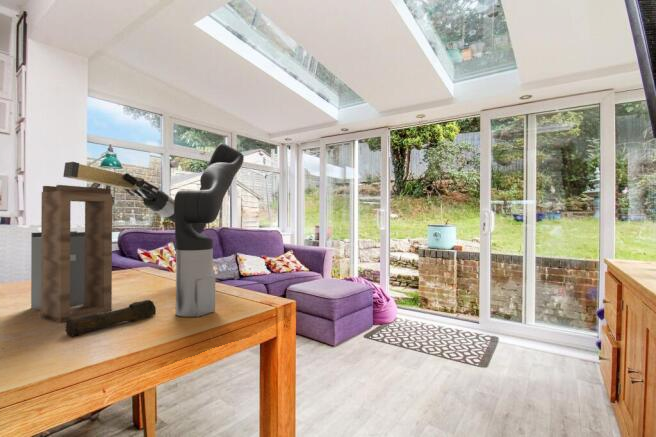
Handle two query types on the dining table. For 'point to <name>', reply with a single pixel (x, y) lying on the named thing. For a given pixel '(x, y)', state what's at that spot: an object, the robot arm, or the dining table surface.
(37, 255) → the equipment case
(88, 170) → the rod
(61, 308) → the brown tall rectangular frame
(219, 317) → the dining table surface
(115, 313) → the hand tool
